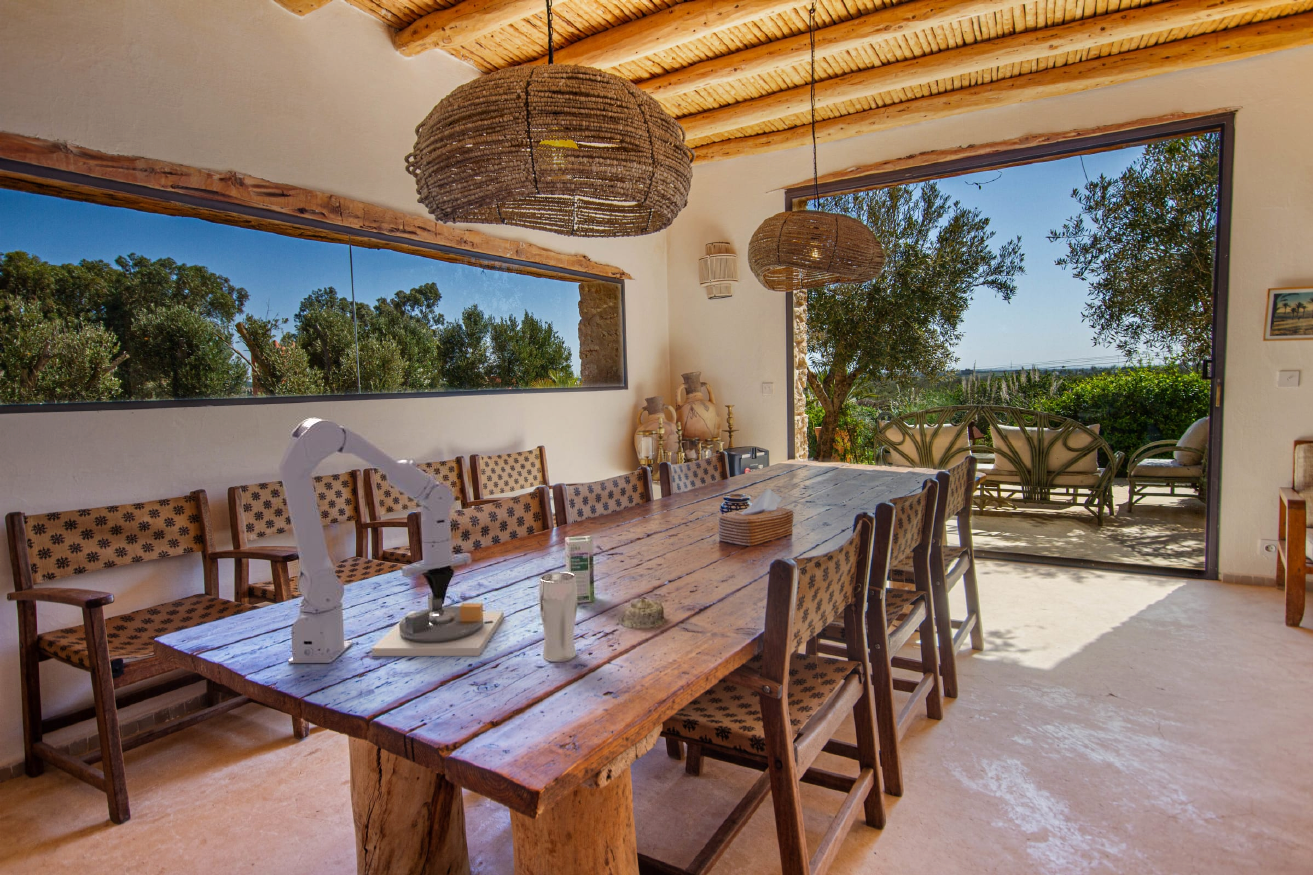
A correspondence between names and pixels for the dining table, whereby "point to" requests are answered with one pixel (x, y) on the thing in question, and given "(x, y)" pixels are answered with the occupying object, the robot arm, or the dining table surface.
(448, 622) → the rotary indexing table
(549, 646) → the beer glass
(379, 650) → the plate
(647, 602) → the cake
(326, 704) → the dining table surface
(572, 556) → the syrup box
